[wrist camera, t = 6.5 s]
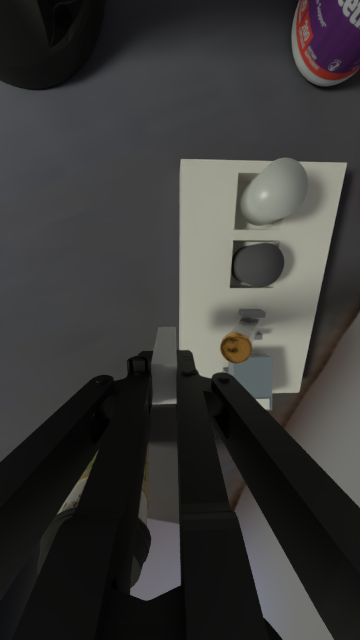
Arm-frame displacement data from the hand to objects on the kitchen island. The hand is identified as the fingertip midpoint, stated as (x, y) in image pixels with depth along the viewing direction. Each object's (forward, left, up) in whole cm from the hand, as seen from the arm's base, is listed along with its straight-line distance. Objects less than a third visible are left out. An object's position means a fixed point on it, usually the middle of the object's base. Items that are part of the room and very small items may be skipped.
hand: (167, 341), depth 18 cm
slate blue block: (+7, +9, -4) cm, 12 cm away
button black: (-7, +9, -7) cm, 14 cm away
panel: (-3, +9, -8) cm, 13 cm away
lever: (0, +9, -5) cm, 11 cm away
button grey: (-13, +9, -5) cm, 17 cm away
